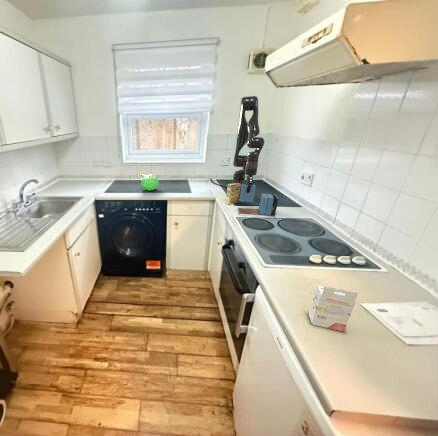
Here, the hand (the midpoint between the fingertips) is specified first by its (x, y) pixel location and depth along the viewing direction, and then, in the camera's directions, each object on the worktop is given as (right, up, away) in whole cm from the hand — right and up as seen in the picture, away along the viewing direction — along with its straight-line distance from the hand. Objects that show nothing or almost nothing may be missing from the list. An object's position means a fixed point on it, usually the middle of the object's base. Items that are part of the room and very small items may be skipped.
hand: (247, 191), depth 170 cm
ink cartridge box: (-16, -53, -95) cm, 110 cm away
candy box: (-7, -8, +12) cm, 16 cm away
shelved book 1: (+6, -15, -9) cm, 19 cm away
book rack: (+2, -16, -8) cm, 18 cm away
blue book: (0, -7, +3) cm, 7 cm away
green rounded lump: (-70, +7, +48) cm, 85 cm away
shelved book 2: (+9, -16, -10) cm, 20 cm away
